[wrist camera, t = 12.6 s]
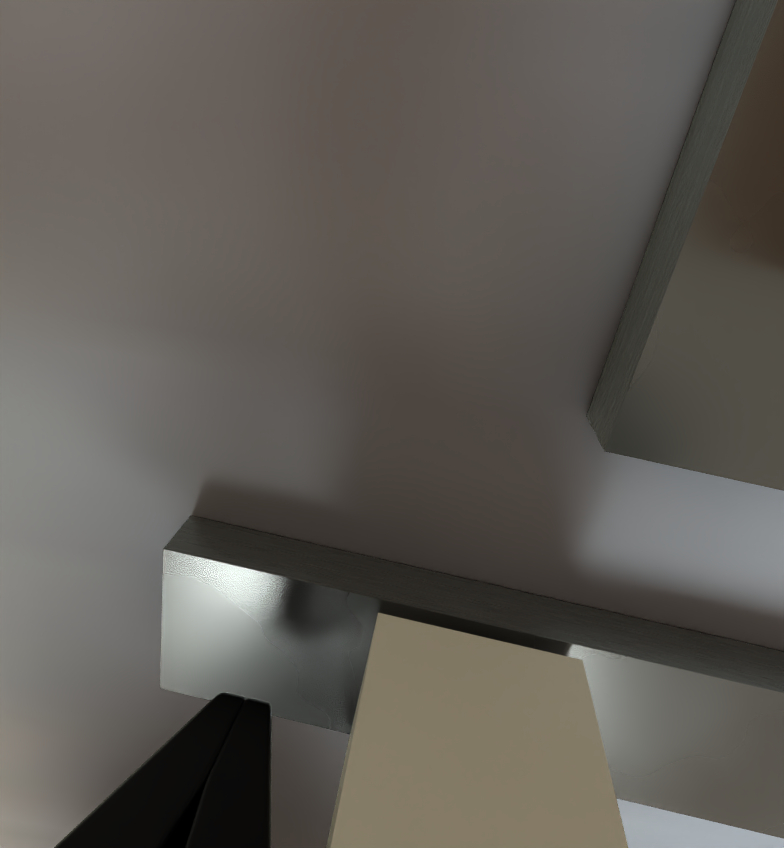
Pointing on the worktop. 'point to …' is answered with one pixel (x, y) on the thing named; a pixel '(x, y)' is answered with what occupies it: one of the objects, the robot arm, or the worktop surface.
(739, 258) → the plate
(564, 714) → the block
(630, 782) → the ram rail
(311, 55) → the worktop surface
